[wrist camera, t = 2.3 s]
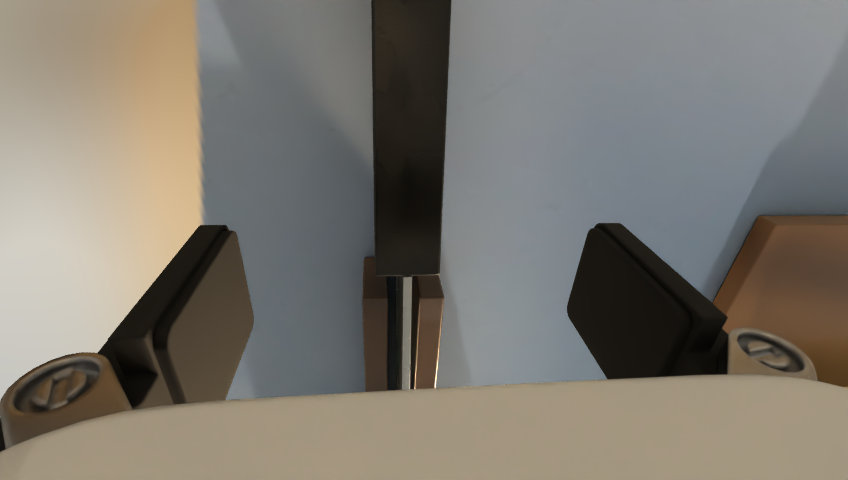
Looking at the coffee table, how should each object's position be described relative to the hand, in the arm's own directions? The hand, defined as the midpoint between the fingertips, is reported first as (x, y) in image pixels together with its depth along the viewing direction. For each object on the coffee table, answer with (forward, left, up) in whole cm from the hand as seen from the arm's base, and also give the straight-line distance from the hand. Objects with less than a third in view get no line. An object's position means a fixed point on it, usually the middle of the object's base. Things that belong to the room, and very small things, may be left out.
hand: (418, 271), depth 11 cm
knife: (+5, 0, -6) cm, 7 cm away
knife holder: (+11, 0, -6) cm, 12 cm away
